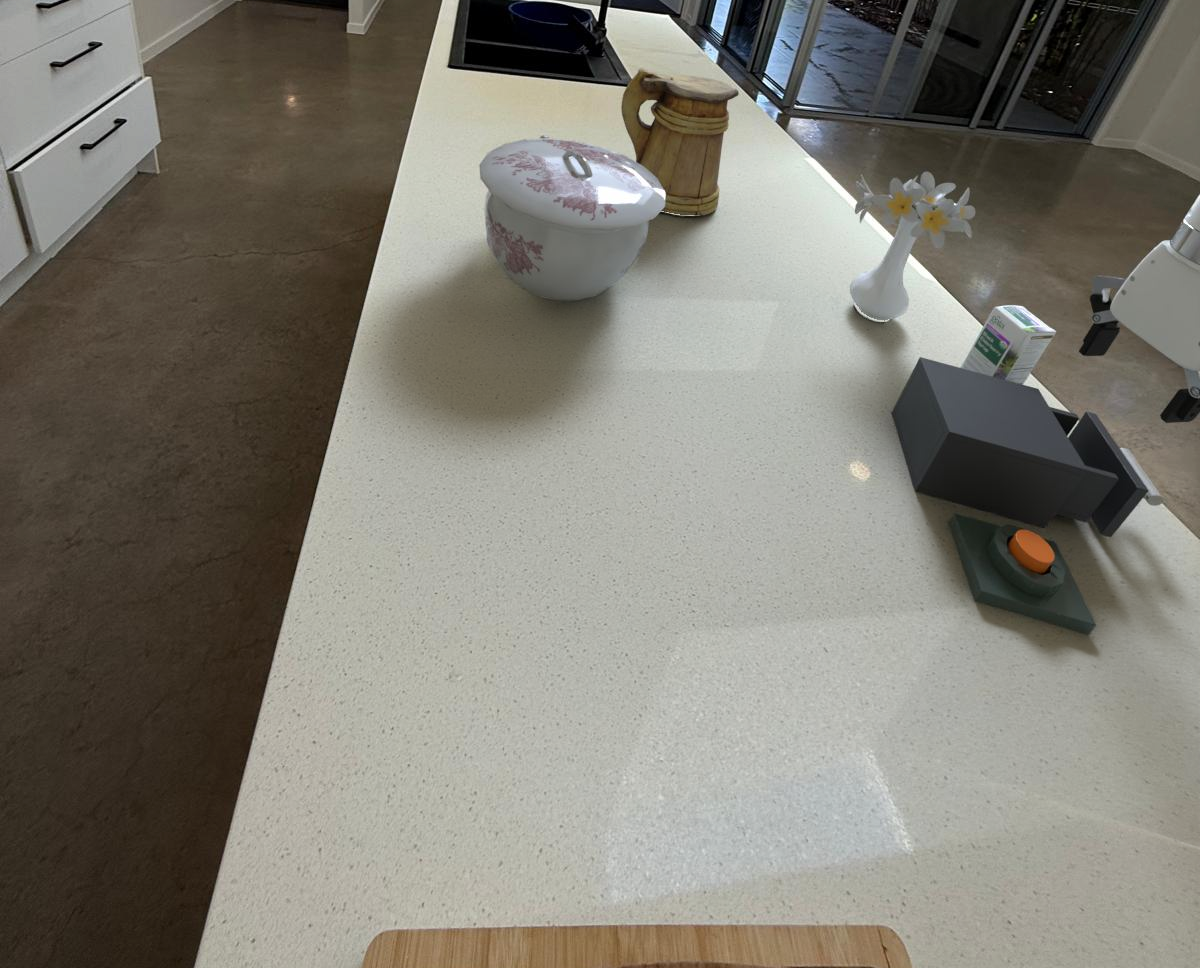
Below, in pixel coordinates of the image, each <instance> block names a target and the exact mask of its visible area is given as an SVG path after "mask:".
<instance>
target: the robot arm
mask: <svg viewBox="0 0 1200 968" xmlns="http://www.w3.org/2000/svg"><path fill="white" fill-rule="evenodd" d="M1112 289H1113V290H1118V291H1117V292H1116V294H1115V295H1114V297H1113V299H1112V298H1111V296H1110V294H1111V290H1112ZM1091 293H1092V294H1091V295H1090V296H1089V302H1090V304H1091V310H1092V314H1091V316H1090V319H1091V322H1092V325H1091V326H1090V328H1089V330H1088V331H1087V333H1086V334H1085V336H1084V338H1083V339H1082V342H1083V344H1082V345H1081V347H1080V348H1079V350H1078V353H1079V354H1081V355H1082V356H1083V357H1103V356H1105V355H1106V353H1107V352H1108V351H1109V349H1110V347H1111V345H1112V344H1113V342H1114V341H1115V340H1116V338H1117V337H1118V335H1119V334H1120V333H1121V330H1120V329H1121V327H1120V326H1119V324H1120V325H1121V324H1122V326H1124V327H1125V328H1126V329H1128V330H1130V331H1131V332H1132V333H1133V334H1135V335H1136V336H1137V337H1139V338H1140V339H1142V340H1143V341H1145V342H1146V343H1147V344H1149V345H1150V346H1151V347H1153V348H1154V349H1155V350H1157V351H1158V352H1160V353H1161V354H1163V355H1164V356H1165V357H1167V358H1168V359H1170V360H1171V361H1172V362H1174V363H1175V364H1177V365H1178V366H1180V367H1182V368H1183V371H1184V376H1185V380H1186V386H1187V388H1180V389H1178V390H1177V391H1176V393H1175V394H1174V396H1173V397H1172V398H1171V399H1170V401H1169V402H1168V404H1167V405H1166V407H1165V408H1164V409H1163V411H1162V412H1161V413H1160V415H1159V417H1160V420H1162V421H1163V422H1164V423H1166V424H1174V423H1190V422H1192V421H1194V420H1195V419H1196V418H1197V417H1198V415H1199V414H1200V194H1199V195H1198V196H1197V198H1196V199H1195V201H1194V203H1193V204H1192V205H1191V207H1190V208H1189V210H1188V212H1187V214H1186V215H1185V217H1184V218H1183V219H1182V221H1181V223H1180V224H1179V226H1178V227H1177V229H1176V230H1175V232H1174V234H1173V235H1172V237H1171V238H1170V240H1168V239H1167V240H1162V241H1161V242H1159V244H1158V245H1156V246H1155V247H1154V248H1153V249H1152V250H1151V251H1150V252H1149V253H1148V254H1147V255H1146V256H1145V257H1144V258H1143V259H1142V260H1141V261H1140V263H1138V265H1136V267H1135V268H1134V269H1133V270H1132V272H1131V273H1130V274H1129V275H1128V277H1127V278H1125V277H1119V276H1111V275H1110V276H1109V275H1102V274H1100V275H1096V274H1095V275H1093V276H1092V277H1091Z"/></svg>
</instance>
